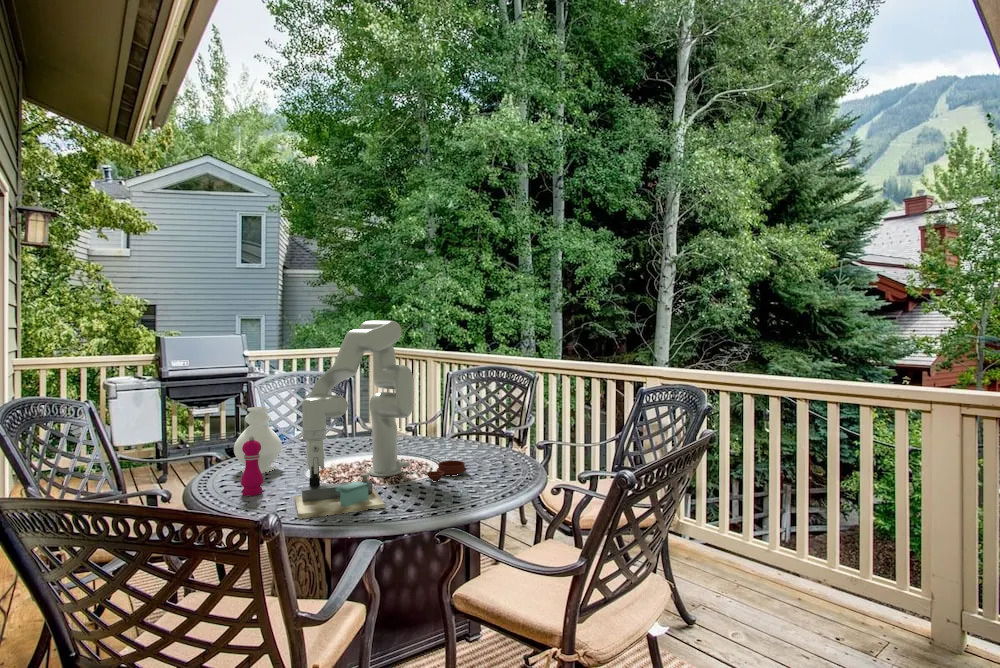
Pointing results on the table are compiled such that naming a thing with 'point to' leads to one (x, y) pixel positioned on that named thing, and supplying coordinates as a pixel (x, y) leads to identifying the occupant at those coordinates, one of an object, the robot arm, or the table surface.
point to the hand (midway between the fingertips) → (314, 489)
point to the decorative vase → (259, 439)
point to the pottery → (447, 469)
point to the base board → (336, 505)
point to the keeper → (353, 493)
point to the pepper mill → (251, 468)
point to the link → (326, 491)
